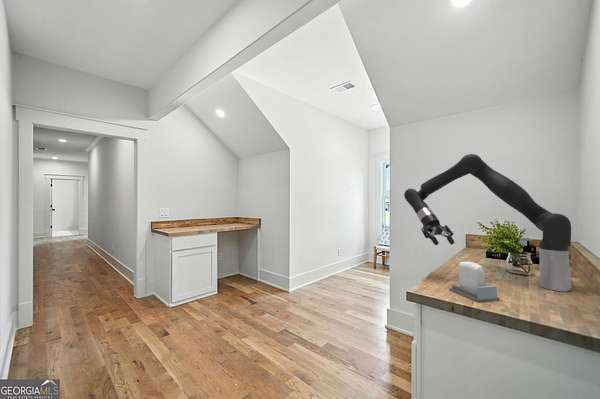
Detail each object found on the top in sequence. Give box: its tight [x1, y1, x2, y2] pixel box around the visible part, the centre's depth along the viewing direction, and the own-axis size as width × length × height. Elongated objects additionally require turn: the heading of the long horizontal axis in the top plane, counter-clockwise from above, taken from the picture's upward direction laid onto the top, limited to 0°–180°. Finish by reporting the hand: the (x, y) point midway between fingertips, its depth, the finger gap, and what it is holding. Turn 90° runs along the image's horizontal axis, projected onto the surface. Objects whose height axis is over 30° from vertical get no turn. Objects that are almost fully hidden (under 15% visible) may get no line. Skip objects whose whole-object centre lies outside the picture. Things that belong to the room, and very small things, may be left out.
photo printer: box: [458, 261, 486, 293], centre depth 105 cm, size 10×4×12 cm, turn 12°
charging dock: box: [449, 284, 500, 303], centre depth 104 cm, size 10×14×6 cm
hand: (445, 243), depth 119 cm, fingers open, 8 cm apart
